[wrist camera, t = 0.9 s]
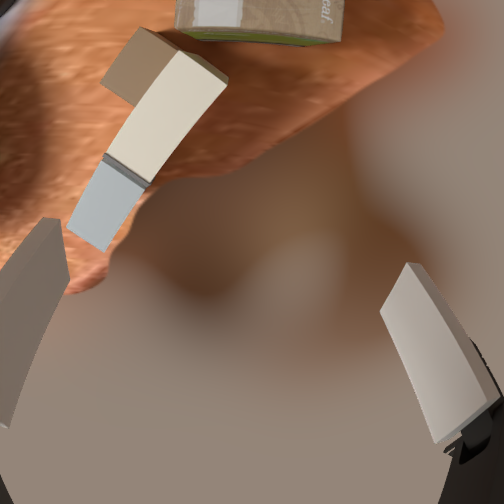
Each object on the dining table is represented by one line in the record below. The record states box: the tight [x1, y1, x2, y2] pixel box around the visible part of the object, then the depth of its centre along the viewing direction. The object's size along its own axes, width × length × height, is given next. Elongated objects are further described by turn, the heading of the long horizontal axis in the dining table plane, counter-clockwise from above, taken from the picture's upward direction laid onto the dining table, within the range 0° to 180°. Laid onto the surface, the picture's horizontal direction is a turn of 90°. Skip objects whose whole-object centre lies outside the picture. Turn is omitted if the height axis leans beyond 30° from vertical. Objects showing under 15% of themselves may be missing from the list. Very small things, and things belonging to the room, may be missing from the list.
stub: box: [66, 158, 146, 252], centre depth 27 cm, size 4×7×12 cm, turn 139°
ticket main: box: [100, 27, 229, 188], centre depth 23 cm, size 9×9×12 cm
